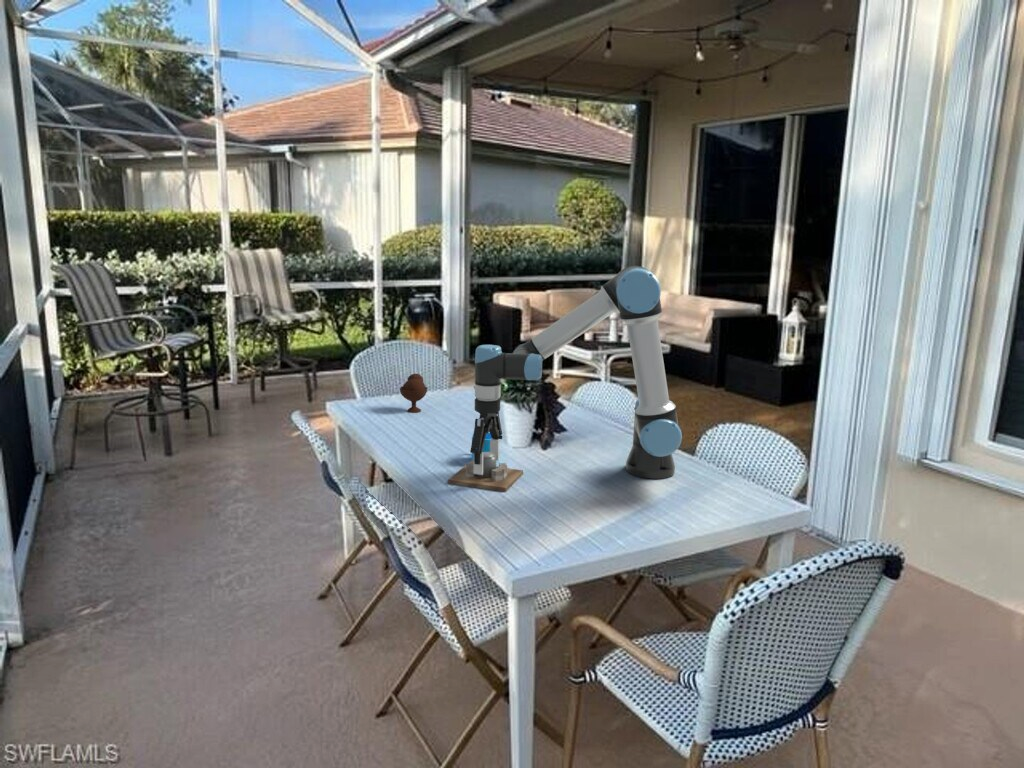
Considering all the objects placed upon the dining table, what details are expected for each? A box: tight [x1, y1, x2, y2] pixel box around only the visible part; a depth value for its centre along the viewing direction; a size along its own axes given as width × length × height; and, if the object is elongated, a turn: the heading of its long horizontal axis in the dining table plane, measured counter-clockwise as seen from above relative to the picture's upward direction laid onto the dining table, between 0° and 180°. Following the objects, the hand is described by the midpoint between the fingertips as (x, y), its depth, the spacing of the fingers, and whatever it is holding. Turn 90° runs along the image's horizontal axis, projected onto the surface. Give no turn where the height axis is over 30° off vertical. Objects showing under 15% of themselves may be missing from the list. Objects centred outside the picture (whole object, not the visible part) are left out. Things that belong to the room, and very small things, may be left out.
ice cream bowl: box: [399, 373, 429, 414], centre depth 295 cm, size 11×11×15 cm
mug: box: [471, 432, 497, 463], centre depth 241 cm, size 12×8×8 cm
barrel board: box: [447, 460, 524, 493], centre depth 223 cm, size 18×16×4 cm
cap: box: [476, 452, 497, 478], centre depth 223 cm, size 6×6×6 cm
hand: (486, 466), depth 223 cm, fingers open, 13 cm apart
